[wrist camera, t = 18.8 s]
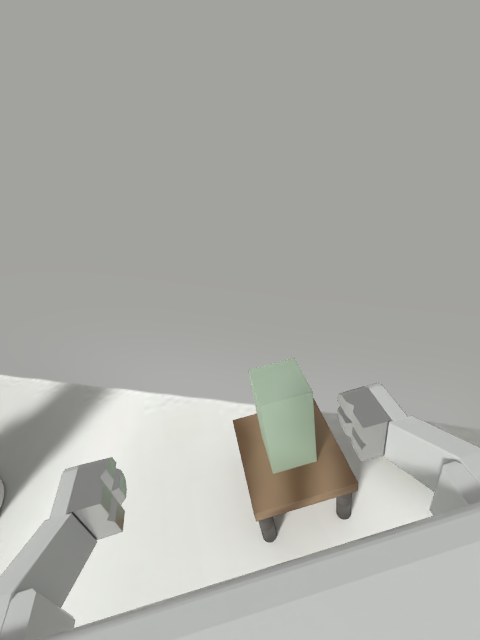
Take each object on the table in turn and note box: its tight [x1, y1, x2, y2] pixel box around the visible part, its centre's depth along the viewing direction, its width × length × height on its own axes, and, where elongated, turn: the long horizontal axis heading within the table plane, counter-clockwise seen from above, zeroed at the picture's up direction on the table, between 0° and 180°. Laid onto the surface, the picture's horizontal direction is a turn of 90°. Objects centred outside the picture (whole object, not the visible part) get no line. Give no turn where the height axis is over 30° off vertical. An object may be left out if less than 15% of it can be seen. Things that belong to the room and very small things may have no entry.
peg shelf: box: [233, 398, 358, 542], centre depth 40 cm, size 11×12×8 cm
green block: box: [249, 358, 317, 474], centre depth 35 cm, size 5×5×11 cm
